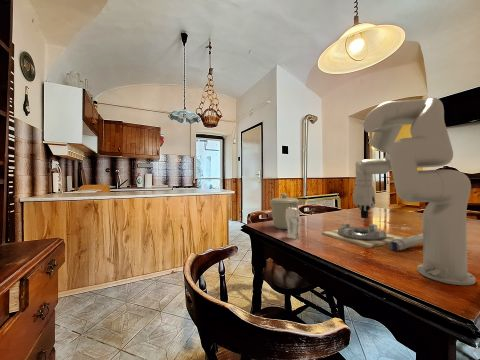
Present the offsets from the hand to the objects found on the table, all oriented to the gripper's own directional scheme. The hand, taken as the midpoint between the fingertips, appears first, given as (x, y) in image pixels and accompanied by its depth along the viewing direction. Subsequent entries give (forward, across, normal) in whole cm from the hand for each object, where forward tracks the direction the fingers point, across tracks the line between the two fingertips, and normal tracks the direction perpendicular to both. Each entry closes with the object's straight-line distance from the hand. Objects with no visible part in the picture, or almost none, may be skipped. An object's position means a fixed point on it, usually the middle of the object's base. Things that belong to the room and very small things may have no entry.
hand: (364, 217), depth 115 cm
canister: (+8, -30, -30) cm, 43 cm away
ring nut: (+6, +5, -9) cm, 12 cm away
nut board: (+8, +5, -9) cm, 13 cm away
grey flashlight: (+8, +26, -4) cm, 27 cm away
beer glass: (+8, -10, -39) cm, 41 cm away
